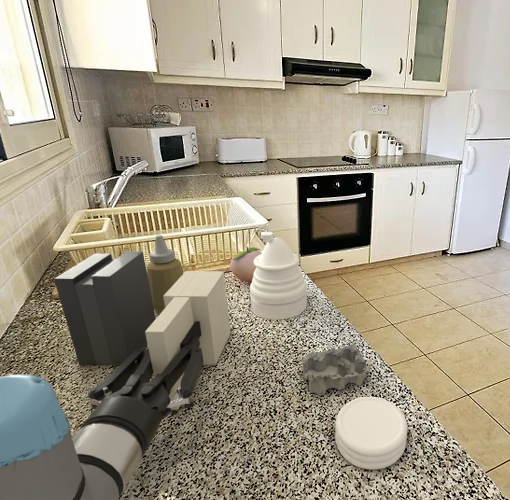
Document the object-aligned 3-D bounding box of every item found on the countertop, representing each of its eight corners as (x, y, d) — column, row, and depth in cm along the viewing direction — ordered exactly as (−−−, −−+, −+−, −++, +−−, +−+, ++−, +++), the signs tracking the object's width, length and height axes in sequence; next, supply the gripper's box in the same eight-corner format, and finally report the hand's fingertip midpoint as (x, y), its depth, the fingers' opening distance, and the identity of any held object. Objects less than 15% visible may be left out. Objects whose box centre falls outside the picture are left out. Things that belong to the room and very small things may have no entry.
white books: (175, 364, 67) (162, 296, 62) (195, 333, 76) (185, 270, 71) (215, 365, 67) (206, 296, 62) (230, 333, 76) (224, 271, 71)
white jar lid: (364, 486, 46) (365, 466, 45) (321, 432, 54) (321, 413, 53) (420, 447, 52) (423, 428, 51) (375, 403, 59) (376, 385, 58)
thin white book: (161, 410, 57) (144, 331, 51) (186, 367, 66) (174, 296, 61) (177, 410, 57) (163, 331, 52) (200, 367, 66) (190, 297, 61)
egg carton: (310, 399, 60) (309, 379, 58) (299, 369, 67) (299, 350, 65) (371, 384, 63) (372, 365, 62) (355, 358, 70) (356, 339, 68)
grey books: (78, 364, 66) (52, 275, 60) (113, 330, 77) (94, 250, 70) (130, 364, 67) (109, 276, 60) (158, 330, 77) (143, 251, 70)
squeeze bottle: (143, 316, 82) (127, 239, 75) (172, 299, 89) (160, 227, 82) (171, 324, 79) (157, 245, 72) (199, 307, 86) (188, 233, 79)
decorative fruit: (253, 292, 93) (251, 255, 89) (226, 286, 96) (222, 250, 92) (274, 277, 101) (272, 243, 98) (248, 272, 104) (245, 238, 100)
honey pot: (257, 324, 80) (251, 245, 73) (246, 297, 90) (240, 227, 84) (314, 313, 85) (313, 238, 78) (298, 288, 95) (296, 221, 89)
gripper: (47, 470, 43) (146, 346, 65) (185, 468, 43) (236, 346, 65) (28, 420, 40) (138, 308, 62) (175, 419, 41) (232, 309, 63)
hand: (188, 328), depth 64 cm, fingers closed on thin white book, 2 cm apart
